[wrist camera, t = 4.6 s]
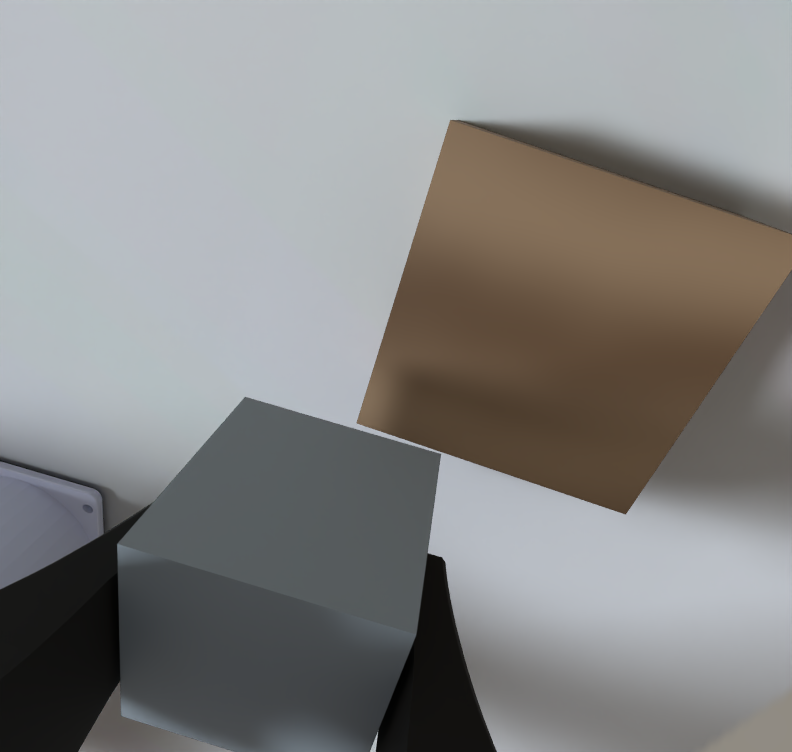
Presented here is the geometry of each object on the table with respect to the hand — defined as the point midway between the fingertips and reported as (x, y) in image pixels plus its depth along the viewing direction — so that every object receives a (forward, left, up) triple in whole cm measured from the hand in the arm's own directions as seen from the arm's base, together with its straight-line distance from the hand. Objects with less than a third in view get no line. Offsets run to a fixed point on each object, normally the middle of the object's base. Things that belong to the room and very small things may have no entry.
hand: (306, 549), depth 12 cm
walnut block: (+5, -5, -9) cm, 11 cm away
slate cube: (0, 0, -2) cm, 2 cm away
